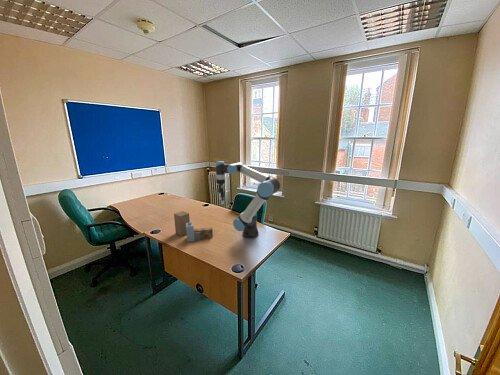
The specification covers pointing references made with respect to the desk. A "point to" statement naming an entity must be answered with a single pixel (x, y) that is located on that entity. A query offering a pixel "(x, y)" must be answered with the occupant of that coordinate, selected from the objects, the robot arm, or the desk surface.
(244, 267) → the desk surface
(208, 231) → the rail
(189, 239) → the gray block with ears
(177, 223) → the wooden block
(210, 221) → the desk surface
